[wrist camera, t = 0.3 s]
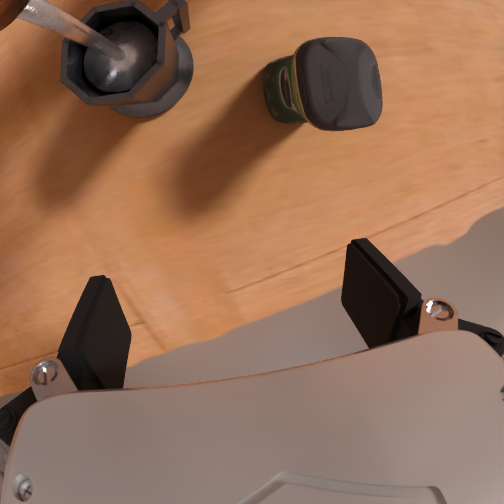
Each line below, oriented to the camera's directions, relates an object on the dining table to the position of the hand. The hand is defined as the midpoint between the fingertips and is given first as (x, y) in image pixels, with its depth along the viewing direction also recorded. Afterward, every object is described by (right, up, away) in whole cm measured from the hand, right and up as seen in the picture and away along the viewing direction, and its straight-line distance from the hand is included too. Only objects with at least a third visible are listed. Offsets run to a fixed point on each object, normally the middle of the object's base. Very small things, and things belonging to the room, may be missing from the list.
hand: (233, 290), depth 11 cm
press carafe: (-13, +25, +21) cm, 36 cm away
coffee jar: (+6, +24, +26) cm, 36 cm away
